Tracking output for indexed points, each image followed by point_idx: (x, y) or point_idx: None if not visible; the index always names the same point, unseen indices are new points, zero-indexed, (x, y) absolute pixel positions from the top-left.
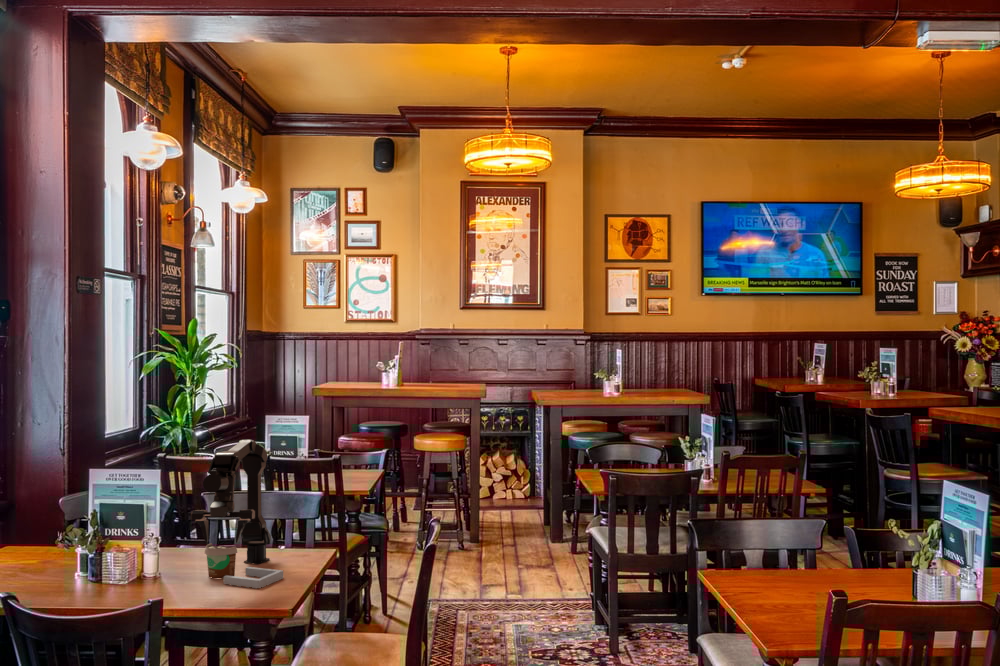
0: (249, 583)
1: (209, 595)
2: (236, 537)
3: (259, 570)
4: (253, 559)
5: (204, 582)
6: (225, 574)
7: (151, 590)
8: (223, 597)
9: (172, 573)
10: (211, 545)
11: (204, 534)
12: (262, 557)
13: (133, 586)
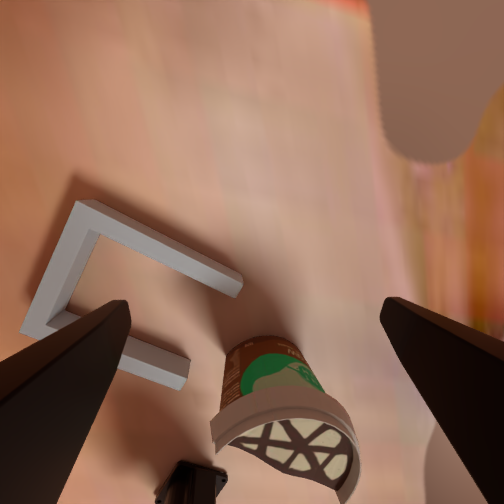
0: (132, 223)
1: (264, 150)
2: (94, 324)
3: (129, 353)
4: (193, 478)
5: (306, 305)
6: (250, 346)
7: (447, 247)
8: (206, 110)
9: (404, 398)
10: (338, 490)
11: (482, 339)
12: (168, 495)
13: (493, 295)
